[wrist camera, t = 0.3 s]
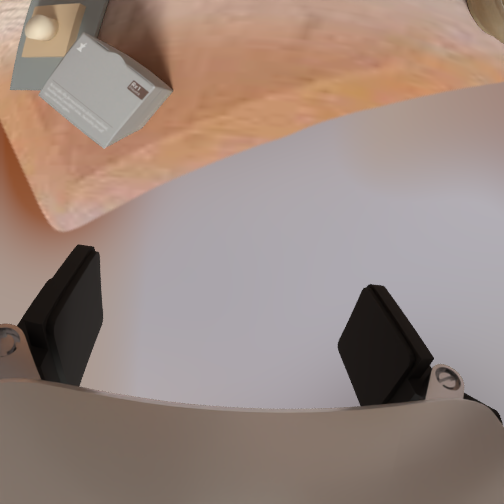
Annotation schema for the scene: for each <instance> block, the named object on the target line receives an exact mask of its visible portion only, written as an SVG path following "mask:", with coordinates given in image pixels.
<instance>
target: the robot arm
mask: <svg viewBox="0 0 504 504" xmlns="http://www.w3.org/2000/svg"><path fill="white" fill-rule="evenodd" d="M102 322H103V309H102V295H101V278H100V255H99V252H96V251H95V249H94V247H92V246H85V245H77V246H76V247H75V248H74V250H73V251H72V252H71V254H70V255H69V256H68V258H67V259H66V260H65V262H64V263H63V264H62V266H61V267H60V268H59V269H58V271H57V272H56V274H55V275H54V277H53V278H52V279H49V280H48V281H47V283H46V284H45V285H44V287H43V288H42V289H41V291H40V292H39V294H38V295H37V297H36V298H35V299H34V301H33V302H32V304H31V305H30V307H29V308H28V310H27V311H26V313H25V314H24V316H23V317H22V319H21V321H20V322H19V324H18V325H17V326H15V325H12V324H0V504H504V427H503V424H502V420H501V418H500V415H499V413H498V412H497V411H496V410H495V409H492V408H491V407H489V406H487V405H485V404H483V403H481V402H480V401H478V400H476V399H474V398H473V397H471V396H469V395H467V394H465V393H464V382H463V379H462V377H461V376H460V374H459V373H458V372H457V371H455V370H454V369H453V368H451V367H450V366H447V365H444V364H438V365H435V366H434V367H433V368H431V367H430V364H431V362H432V361H433V360H434V357H433V356H432V354H431V353H430V351H429V350H428V348H427V347H426V345H425V344H424V342H423V341H422V339H421V338H420V336H419V335H418V333H417V332H416V330H415V329H414V328H413V326H412V325H411V323H410V322H409V321H408V319H407V317H406V316H405V315H404V313H403V312H402V310H401V309H400V308H399V306H398V305H397V303H396V302H395V300H394V299H393V298H392V296H391V295H390V294H389V292H388V291H387V289H386V288H385V287H384V286H381V285H372V284H370V285H368V286H367V287H366V288H364V289H363V290H362V292H361V294H360V297H359V299H358V301H357V303H356V305H355V308H354V310H353V312H352V314H351V317H350V318H349V321H348V323H347V325H346V327H345V329H344V331H343V333H342V335H341V337H340V339H339V342H338V350H339V353H340V355H341V358H342V361H343V363H344V365H345V368H346V370H347V373H348V375H349V378H350V380H351V383H352V385H353V388H354V390H355V393H356V395H357V398H358V400H359V403H360V407H344V408H323V409H322V408H321V409H256V408H235V407H218V406H206V405H195V404H185V403H176V402H168V401H160V400H153V399H146V398H140V397H133V396H127V395H121V394H115V393H109V392H104V391H99V390H94V389H89V388H83V387H79V386H80V382H81V379H82V377H83V374H84V371H85V368H86V365H87V363H88V360H89V357H90V354H91V352H92V349H93V346H94V343H95V341H96V338H97V336H98V333H99V331H100V328H101V326H102Z"/></svg>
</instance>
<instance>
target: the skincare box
mask: <svg viewBox="0 0 504 504" xmlns="http://www.w3.org/2000/svg"><path fill="white" fill-rule="evenodd" d="M172 92H173V90H172V89H171V88H170V87H169V86H168V85H167V84H165V83H164V82H163V81H162V80H161V79H159V78H158V77H157V76H156V75H154V74H153V73H152V72H151V71H149V70H148V69H147V68H145V67H144V66H142V65H141V64H139V63H138V62H137V61H135V60H134V59H132V58H131V57H130V56H128V55H126V54H125V53H123V52H121V51H119V50H117V49H116V48H114V47H112V46H110V45H108V44H106V43H105V42H103V41H101V40H99V39H97V38H95V37H93V36H91V35H89V34H87V33H82V34H81V35H80V36H79V38H78V39H77V40H76V41H75V43H74V44H73V45H72V47H71V48H70V49H69V51H68V52H67V53H66V55H65V56H64V57H63V59H62V60H61V62H60V63H59V64H58V66H57V67H56V69H55V70H54V72H53V73H52V75H51V76H50V78H49V79H48V81H47V82H46V84H45V85H44V87H43V88H42V90H41V92H40V93H39V96H40V97H41V98H42V99H43V100H45V101H46V102H47V103H48V104H49V105H50V106H52V107H53V108H54V109H55V110H56V111H58V112H59V113H60V114H61V115H62V116H64V117H65V118H66V119H67V120H68V121H70V122H71V123H72V124H73V125H74V126H76V127H77V128H78V129H79V130H81V131H82V132H83V133H84V134H86V135H87V136H88V137H89V138H91V139H92V140H93V141H95V142H96V143H97V144H98V145H100V146H101V147H102V148H106V147H108V146H110V145H111V144H113V143H115V142H117V141H119V140H121V139H123V138H124V137H126V136H128V135H130V134H132V133H134V132H136V131H138V130H140V129H142V128H143V126H144V125H145V124H146V123H147V122H148V120H149V119H150V118H151V117H152V116H153V114H154V113H155V112H156V111H157V110H158V108H159V107H160V106H161V105H162V104H163V102H164V101H165V100H166V99H167V98H168V97H169V95H170V94H171V93H172Z"/></svg>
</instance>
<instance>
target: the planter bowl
mask: <svg viewBox="0 0 504 504" xmlns="http://www.w3.org/2000/svg"><path fill="white" fill-rule="evenodd" d="M467 4H468V7H469V10H470V13H471V15H472V17H473V18H474V20H475V22H476V23H477V24H478V26H479V27H480V28H481V29H482V30H483V31H484V32H486V33H487V34H489V35H491V36H494V37H495V38H496V39H498V40H499V41H500V42H502V43H503V44H504V0H467Z"/></svg>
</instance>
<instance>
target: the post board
mask: <svg viewBox="0 0 504 504" xmlns="http://www.w3.org/2000/svg"><path fill="white" fill-rule="evenodd" d="M108 2H109V0H32V1H31V4H30V7H29V10H28V13H27V16H26V20H25V23H24V27H23V31H22V34H21V38H20V42H19V46H18V51H17V55H16V60H15V65H14V70H13V75H12V81H11V87H10V90H42V88H43V87H44V85H45V84H46V82H47V81H48V79H49V78H50V76H51V75H52V73H53V72H54V70H55V69H56V67H57V66H58V64H59V63H60V62H61V60H62V59H63V57H64V56H65V55H66V53H67V52H68V51H69V49H70V48H71V47H72V45H73V44H74V43H75V41H76V40H77V39H78V38H79V36H80V35H81V34H82V33H87V34H89V35H91V36H93V37H95V38H97V37H98V34H99V30H100V27H101V23H102V20H103V17H104V14H105V11H106V8H107V5H108Z"/></svg>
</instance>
